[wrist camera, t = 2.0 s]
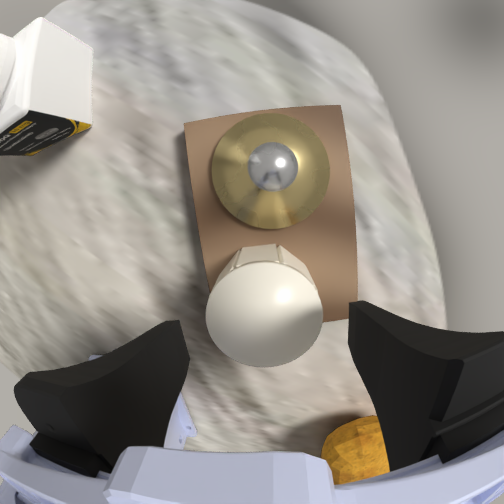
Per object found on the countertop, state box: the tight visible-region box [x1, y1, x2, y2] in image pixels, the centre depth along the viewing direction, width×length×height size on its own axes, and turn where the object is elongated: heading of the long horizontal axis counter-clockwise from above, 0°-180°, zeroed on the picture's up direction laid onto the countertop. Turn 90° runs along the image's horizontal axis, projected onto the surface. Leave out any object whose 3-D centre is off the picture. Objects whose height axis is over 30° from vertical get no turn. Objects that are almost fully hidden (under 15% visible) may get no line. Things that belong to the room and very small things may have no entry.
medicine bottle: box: [0, 17, 93, 156], centre depth 9 cm, size 7×7×12 cm
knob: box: [212, 113, 330, 229], centre depth 13 cm, size 6×6×3 cm
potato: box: [321, 415, 390, 485], centre depth 18 cm, size 8×14×7 cm, turn 17°
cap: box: [206, 244, 323, 367], centre depth 14 cm, size 5×5×4 cm
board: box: [184, 105, 358, 323], centre depth 16 cm, size 13×9×1 cm
